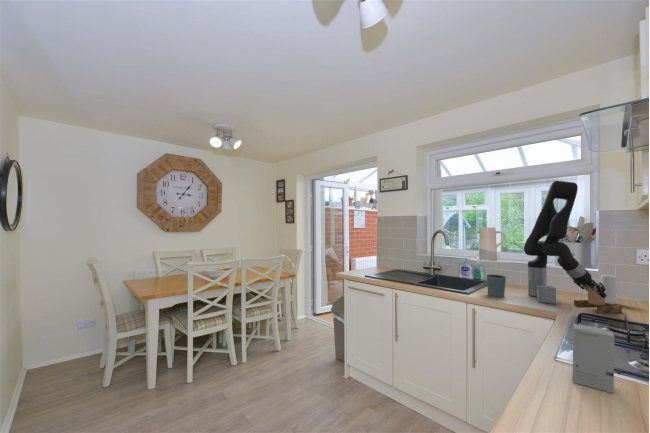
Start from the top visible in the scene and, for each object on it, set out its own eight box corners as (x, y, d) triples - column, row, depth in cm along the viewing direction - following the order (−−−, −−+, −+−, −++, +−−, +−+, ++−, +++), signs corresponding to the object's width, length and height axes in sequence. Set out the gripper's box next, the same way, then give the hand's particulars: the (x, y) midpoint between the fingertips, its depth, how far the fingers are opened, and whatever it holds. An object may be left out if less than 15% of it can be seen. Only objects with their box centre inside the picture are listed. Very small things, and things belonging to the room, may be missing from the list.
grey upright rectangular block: (572, 383, 79) (571, 328, 80) (572, 374, 84) (571, 322, 84) (616, 394, 74) (614, 335, 74) (613, 384, 78) (612, 329, 79)
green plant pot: (485, 293, 183) (485, 273, 183) (504, 294, 179) (504, 275, 179) (488, 296, 173) (487, 276, 174) (507, 298, 170) (507, 277, 170)
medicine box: (554, 302, 162) (553, 286, 162) (556, 304, 158) (556, 288, 158) (536, 300, 165) (536, 285, 166) (538, 302, 161) (538, 286, 162)
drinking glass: (621, 305, 156) (621, 277, 156) (607, 304, 157) (606, 276, 157) (612, 301, 162) (611, 274, 163) (597, 301, 164) (597, 274, 164)
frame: (599, 313, 141) (599, 307, 142) (574, 305, 154) (574, 300, 155) (621, 312, 142) (621, 306, 142) (595, 305, 155) (595, 299, 155)
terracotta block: (596, 305, 146) (596, 287, 146) (587, 302, 150) (587, 285, 151) (605, 305, 146) (604, 286, 146) (596, 302, 151) (595, 285, 151)
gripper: (595, 268, 141) (619, 293, 142) (568, 265, 155) (590, 287, 156) (586, 280, 141) (609, 304, 141) (559, 275, 155) (581, 297, 155)
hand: (599, 295), depth 149 cm, fingers closed on terracotta block, 4 cm apart
